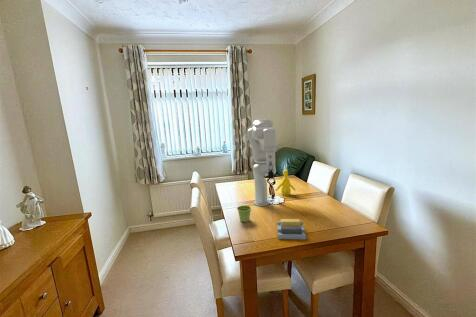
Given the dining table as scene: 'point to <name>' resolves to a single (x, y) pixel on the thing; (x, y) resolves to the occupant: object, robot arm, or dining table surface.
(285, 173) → the figure statuette
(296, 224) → the butter stick
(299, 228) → the dark gray block
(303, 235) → the slot rack
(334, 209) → the dining table surface
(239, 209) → the plant pot
